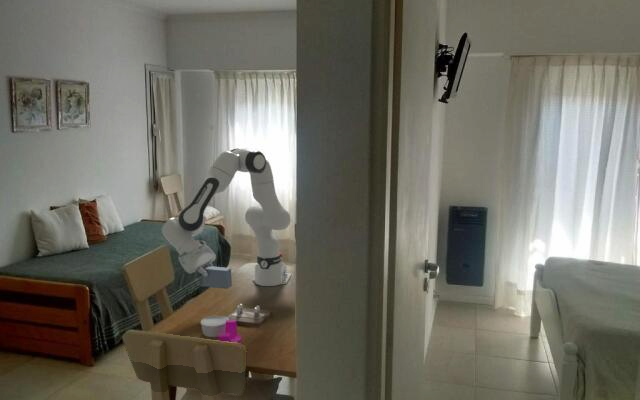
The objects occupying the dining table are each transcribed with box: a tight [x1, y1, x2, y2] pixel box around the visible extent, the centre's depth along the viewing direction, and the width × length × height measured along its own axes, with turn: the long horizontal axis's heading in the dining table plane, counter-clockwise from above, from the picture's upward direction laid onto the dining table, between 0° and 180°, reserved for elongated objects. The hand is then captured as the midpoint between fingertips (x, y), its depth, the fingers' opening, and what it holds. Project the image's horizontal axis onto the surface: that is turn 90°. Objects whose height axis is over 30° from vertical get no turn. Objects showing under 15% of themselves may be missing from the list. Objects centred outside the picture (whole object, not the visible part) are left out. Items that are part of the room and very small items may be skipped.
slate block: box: [201, 265, 233, 290], centre depth 229 cm, size 4×12×8 cm, turn 72°
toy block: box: [218, 320, 242, 344], centre depth 197 cm, size 15×6×8 cm, turn 179°
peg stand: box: [226, 303, 273, 328], centre depth 223 cm, size 14×16×6 cm
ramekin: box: [200, 315, 229, 338], centre depth 209 cm, size 11×11×5 cm
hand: (210, 273), depth 229 cm, fingers closed on slate block, 4 cm apart
